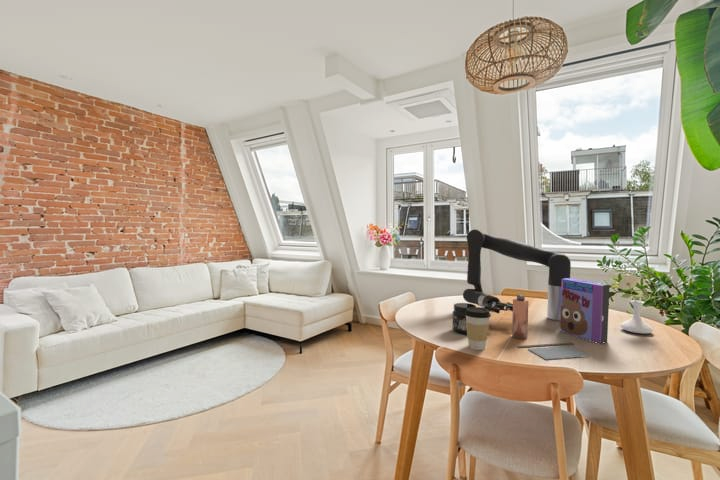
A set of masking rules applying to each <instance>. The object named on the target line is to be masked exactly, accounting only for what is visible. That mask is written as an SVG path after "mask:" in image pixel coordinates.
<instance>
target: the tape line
mask: <svg viewBox="0 0 720 480" xmlns="http://www.w3.org/2000/svg"><path fill="white" fill-rule="evenodd" d="M570 344H571V345H574V343H573V342H557V343H543V344H526V345H516V347H517V348H519V349H524V348H526V349H528V348H543V347H558V346H570Z"/></svg>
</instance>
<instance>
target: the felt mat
mask: <svg viewBox="0 0 720 480" xmlns="http://www.w3.org/2000/svg"><path fill="white" fill-rule="evenodd" d="M527 351H529V352H531V353H533V354H534V355H536V356H538V357H540V358H541V359H543V360H545V361H551V360H550V359H554V360H563V359H562V358H567V359H572V358H571V357H580V358H582V357H581V356H590V355H589V354H587V353H585V352H583V351H580V350H579V349H576V348H574V347H572V346H570V345H561V346H547V347H532V348H527Z"/></svg>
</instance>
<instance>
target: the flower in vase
mask: <svg viewBox="0 0 720 480" xmlns="http://www.w3.org/2000/svg"><path fill="white" fill-rule="evenodd" d="M637 283H638V279H637V278H636V277H634V276H631V275H630V276H625V277H623V278H622V279H620V280H619V282H618V283H617V286H618V289H620V290H622V291H628V290H630V293H623V294H622V295H621V296H620V297H621V298H624V299H629V298H631V297H633V299H632V300H630V302H631V304H632V307H633V316H632V317H631V318H629V319H627V320H626V321H623V322H622V323H621V324H620V328H621V329H623V330H625V331H627V332H630V333H635V334H641V335H643V334H644V335H645V334H651V333H652V332H653V331H654V330H653V327H651V326H650V325H649V324H648V323H647V322H645V321H644V320H643V319H642V317H641V309H642V307H643V305H644V304H645V301H642V300H638V299H642V298H643V297H644V292H643V293H641V294H640V293H639V294H636V295H635V296H634V295H633V292H632V289H634V288H635V286H637ZM636 299H637V300H636Z"/></svg>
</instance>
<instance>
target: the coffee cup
mask: <svg viewBox="0 0 720 480" xmlns="http://www.w3.org/2000/svg"><path fill="white" fill-rule="evenodd" d="M465 315H466V328H467V335H466V337H467V340H468V341H467V342H468V343H467V344H468V348H469V349H471V350H474V351H484V350H485V349H486V344H487V339H488V334H489V327H490V317H492V316H491V315H492V314H491V312H490V311H489V310H488V309H485V308H482V307H481V306H479V307H477V306H476V307H469V308H467V309H466V311H465Z"/></svg>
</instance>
